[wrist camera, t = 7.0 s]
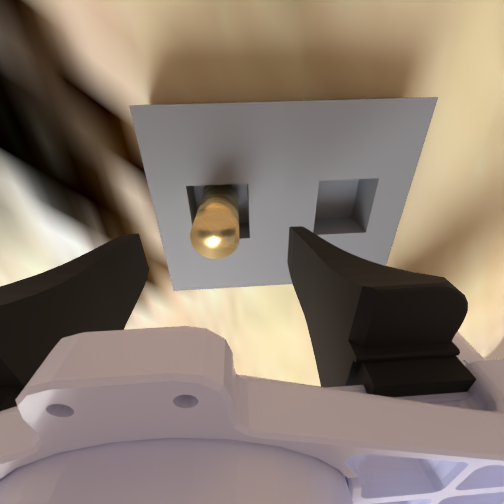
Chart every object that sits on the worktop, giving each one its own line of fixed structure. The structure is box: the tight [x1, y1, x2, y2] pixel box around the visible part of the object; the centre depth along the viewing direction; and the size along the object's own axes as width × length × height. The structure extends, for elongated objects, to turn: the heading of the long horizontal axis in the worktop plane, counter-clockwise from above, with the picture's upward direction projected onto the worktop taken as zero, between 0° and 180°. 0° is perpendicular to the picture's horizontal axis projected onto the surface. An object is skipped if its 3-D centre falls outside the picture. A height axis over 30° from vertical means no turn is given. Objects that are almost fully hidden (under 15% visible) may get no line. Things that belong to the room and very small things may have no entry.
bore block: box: [129, 97, 438, 291], centre depth 17 cm, size 12×16×3 cm
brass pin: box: [190, 184, 240, 259], centre depth 15 cm, size 2×2×6 cm
